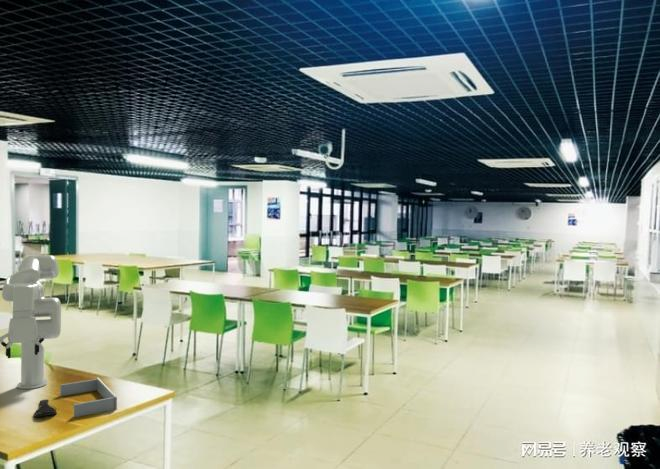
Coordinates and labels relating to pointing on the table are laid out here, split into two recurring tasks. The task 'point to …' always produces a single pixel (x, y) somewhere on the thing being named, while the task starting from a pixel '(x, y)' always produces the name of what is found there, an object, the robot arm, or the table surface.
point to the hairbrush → (45, 409)
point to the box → (91, 406)
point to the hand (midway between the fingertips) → (22, 356)
